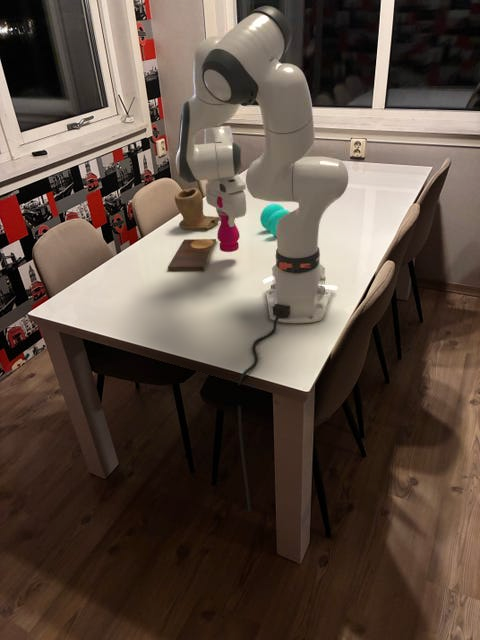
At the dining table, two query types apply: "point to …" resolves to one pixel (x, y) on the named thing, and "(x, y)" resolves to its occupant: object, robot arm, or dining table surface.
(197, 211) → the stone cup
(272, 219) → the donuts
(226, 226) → the pepper mill
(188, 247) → the serving board
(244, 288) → the dining table surface
